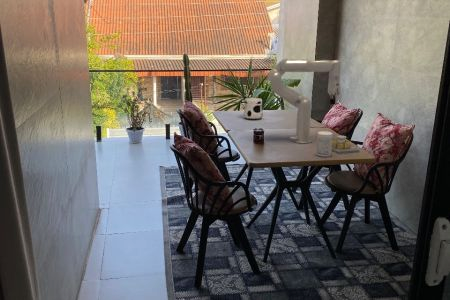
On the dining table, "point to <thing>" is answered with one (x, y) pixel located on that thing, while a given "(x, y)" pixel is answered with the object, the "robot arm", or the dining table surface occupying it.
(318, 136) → the supplement tub
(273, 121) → the dining table surface
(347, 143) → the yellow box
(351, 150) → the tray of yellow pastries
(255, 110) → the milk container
